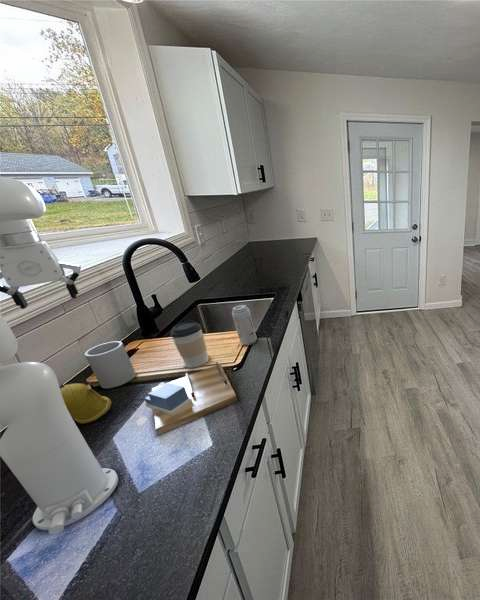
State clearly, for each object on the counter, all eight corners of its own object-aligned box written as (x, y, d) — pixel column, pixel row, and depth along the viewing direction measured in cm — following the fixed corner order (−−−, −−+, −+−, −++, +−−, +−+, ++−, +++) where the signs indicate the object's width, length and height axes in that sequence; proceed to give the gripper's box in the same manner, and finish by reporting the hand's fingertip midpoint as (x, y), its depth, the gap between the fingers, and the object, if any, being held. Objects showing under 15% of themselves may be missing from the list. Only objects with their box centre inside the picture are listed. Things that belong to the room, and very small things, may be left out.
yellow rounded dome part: (103, 428, 83) (77, 382, 77) (63, 439, 80) (34, 392, 74) (119, 402, 93) (97, 359, 87) (84, 411, 90) (59, 367, 84)
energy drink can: (256, 344, 121) (247, 308, 115) (239, 347, 119) (229, 311, 114) (257, 337, 126) (248, 303, 121) (241, 340, 125) (231, 305, 119)
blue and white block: (192, 401, 88) (186, 386, 86) (173, 415, 83) (166, 400, 81) (166, 394, 92) (160, 379, 90) (146, 407, 87) (139, 391, 85)
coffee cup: (202, 369, 107) (188, 330, 101) (176, 370, 107) (161, 331, 101) (217, 354, 115) (205, 318, 109) (193, 355, 115) (179, 319, 110)
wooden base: (237, 401, 90) (234, 391, 89) (158, 435, 79) (153, 424, 78) (221, 368, 106) (219, 360, 105) (153, 393, 96) (149, 384, 94)
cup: (98, 381, 104) (82, 350, 99) (132, 368, 110) (119, 338, 105) (103, 392, 98) (86, 359, 93) (138, 377, 104) (124, 346, 100)
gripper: (-42, 248, 71) (-1, 316, 78) (63, 235, 81) (91, 296, 88) (-30, 244, 77) (7, 307, 83) (67, 232, 87) (93, 290, 93)
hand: (50, 302), depth 86 cm, fingers open, 9 cm apart
